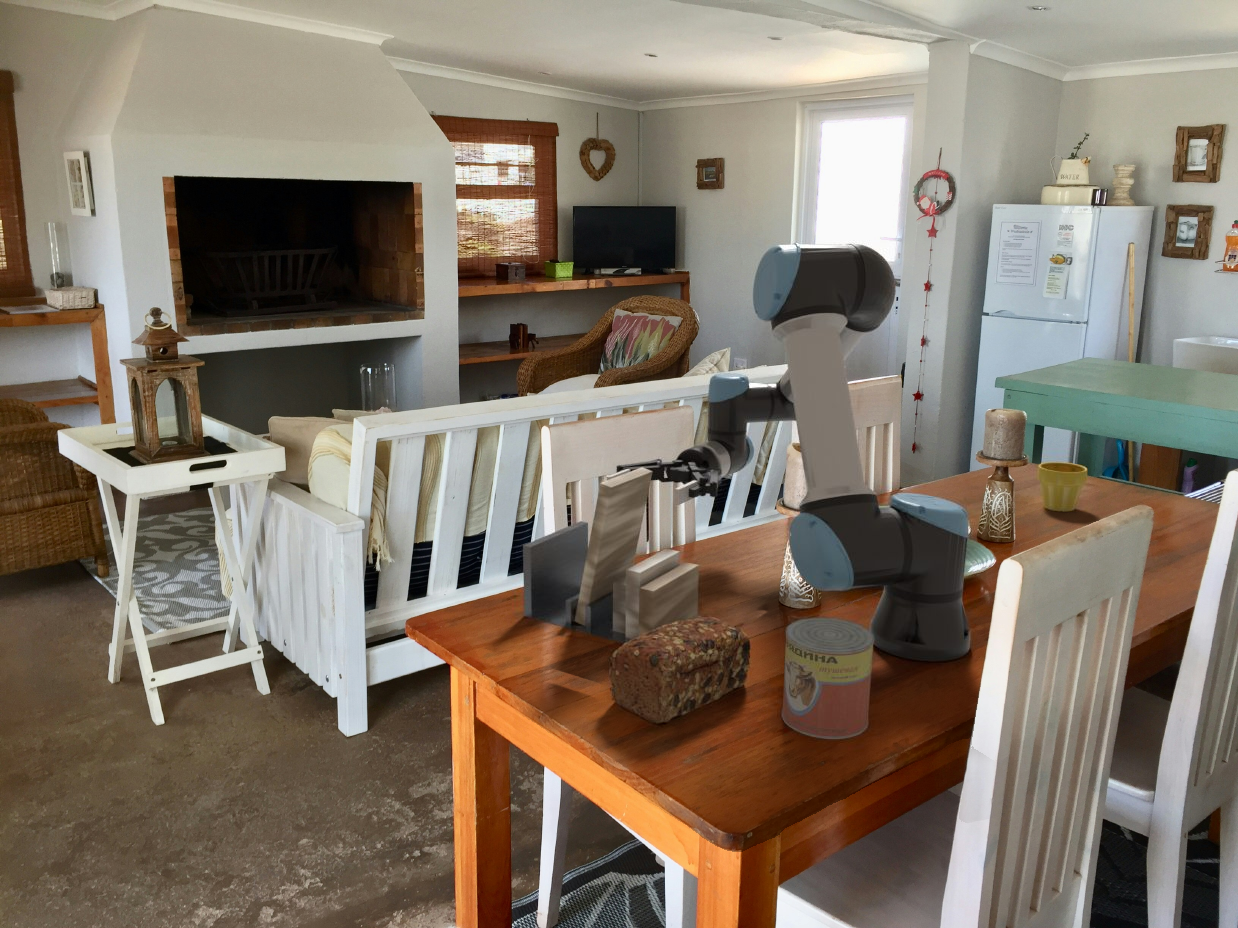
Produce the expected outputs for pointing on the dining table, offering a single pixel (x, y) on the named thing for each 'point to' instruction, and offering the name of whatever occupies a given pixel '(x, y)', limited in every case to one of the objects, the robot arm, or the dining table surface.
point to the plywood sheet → (613, 535)
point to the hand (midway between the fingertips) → (641, 490)
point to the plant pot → (1061, 484)
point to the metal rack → (564, 583)
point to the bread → (679, 667)
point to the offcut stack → (655, 594)
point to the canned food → (827, 677)
